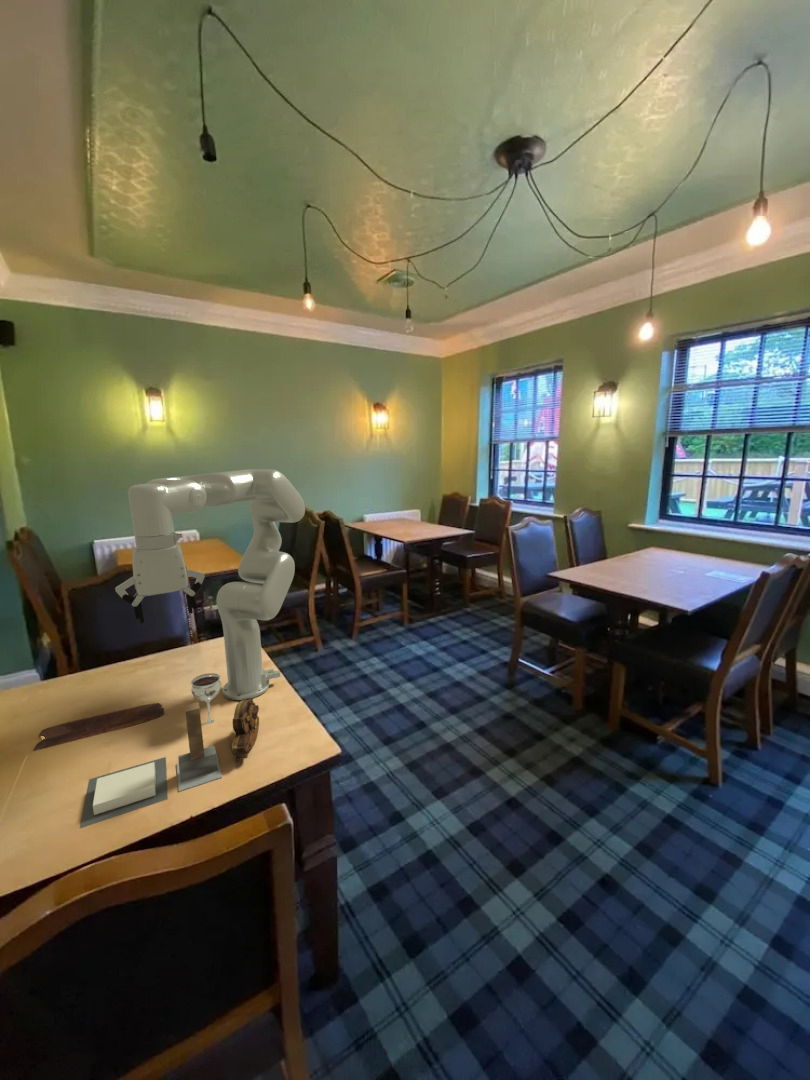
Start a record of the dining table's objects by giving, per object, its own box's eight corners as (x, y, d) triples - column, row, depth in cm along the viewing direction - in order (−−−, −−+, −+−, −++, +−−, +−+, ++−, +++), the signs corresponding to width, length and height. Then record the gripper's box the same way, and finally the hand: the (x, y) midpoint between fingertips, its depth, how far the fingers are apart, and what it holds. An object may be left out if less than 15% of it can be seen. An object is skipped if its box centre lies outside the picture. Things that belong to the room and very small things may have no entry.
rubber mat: (166, 759, 99) (165, 756, 99) (167, 801, 87) (167, 798, 87) (89, 781, 93) (89, 779, 92) (80, 830, 81) (79, 828, 80)
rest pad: (216, 755, 100) (216, 751, 100) (222, 780, 93) (221, 776, 93) (177, 767, 97) (176, 763, 97) (179, 794, 89) (178, 790, 89)
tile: (154, 761, 94) (154, 786, 87) (155, 771, 95) (155, 796, 88) (97, 778, 89) (92, 805, 82) (98, 788, 90) (94, 816, 83)
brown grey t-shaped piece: (216, 761, 97) (209, 698, 94) (217, 770, 94) (211, 705, 92) (180, 772, 94) (172, 707, 91) (180, 781, 91) (173, 715, 88)
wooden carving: (254, 766, 97) (251, 725, 95) (232, 769, 96) (228, 727, 94) (262, 722, 113) (259, 686, 111) (243, 724, 112) (240, 688, 110)
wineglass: (196, 735, 108) (191, 689, 105) (194, 720, 113) (189, 676, 111) (226, 727, 111) (222, 682, 108) (223, 713, 117) (219, 670, 114)
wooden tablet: (162, 696, 123) (164, 710, 114) (163, 704, 123) (165, 718, 114) (39, 728, 109) (31, 746, 101) (40, 737, 109) (33, 755, 101)
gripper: (197, 533, 104) (205, 603, 107) (108, 544, 95) (121, 619, 99) (202, 539, 97) (211, 613, 101) (107, 551, 88) (121, 631, 92)
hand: (166, 616), depth 100 cm, fingers open, 9 cm apart
